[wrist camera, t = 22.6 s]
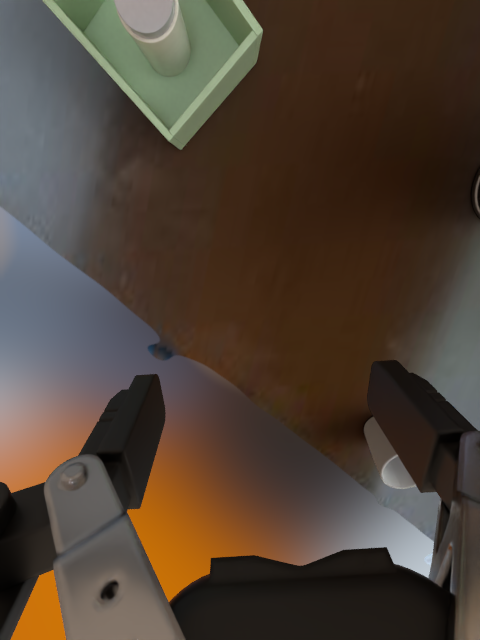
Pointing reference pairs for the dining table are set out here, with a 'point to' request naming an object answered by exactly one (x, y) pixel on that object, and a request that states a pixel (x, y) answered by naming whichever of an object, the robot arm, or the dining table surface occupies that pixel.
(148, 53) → the grey cylindrical piece
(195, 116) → the green open box
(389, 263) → the dining table surface
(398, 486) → the cup
